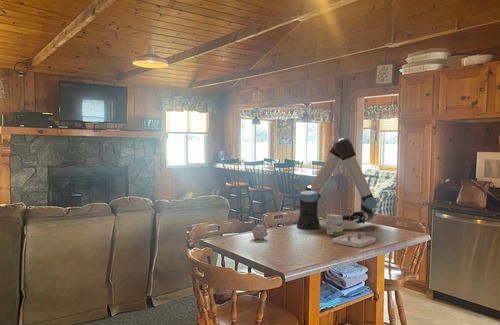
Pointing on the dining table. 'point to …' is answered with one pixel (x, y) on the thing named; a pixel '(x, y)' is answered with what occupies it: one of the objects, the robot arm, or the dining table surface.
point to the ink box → (335, 225)
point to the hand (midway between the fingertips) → (343, 221)
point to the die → (259, 232)
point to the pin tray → (354, 240)
